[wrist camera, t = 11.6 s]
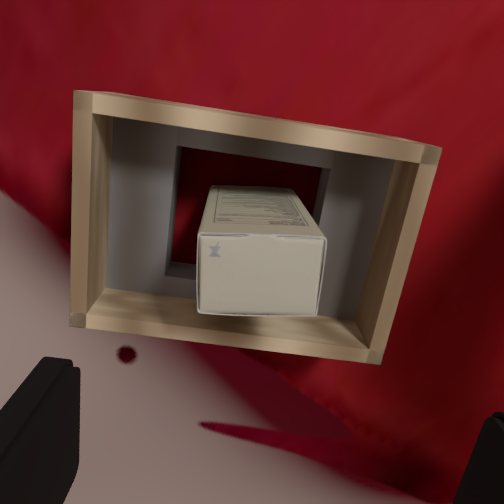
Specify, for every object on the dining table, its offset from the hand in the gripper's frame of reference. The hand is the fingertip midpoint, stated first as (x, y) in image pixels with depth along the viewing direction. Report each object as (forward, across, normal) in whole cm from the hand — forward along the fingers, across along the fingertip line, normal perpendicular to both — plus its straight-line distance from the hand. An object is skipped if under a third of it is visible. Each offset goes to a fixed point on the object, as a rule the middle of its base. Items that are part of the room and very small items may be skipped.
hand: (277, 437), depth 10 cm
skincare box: (+24, 0, +1) cm, 24 cm away
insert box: (+24, +1, +1) cm, 24 cm away
